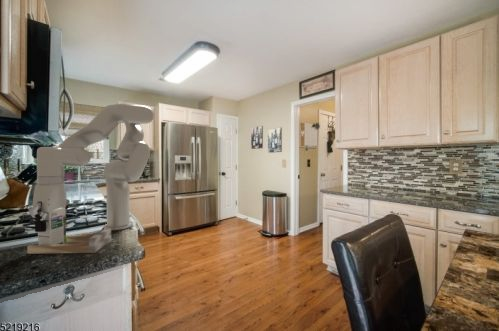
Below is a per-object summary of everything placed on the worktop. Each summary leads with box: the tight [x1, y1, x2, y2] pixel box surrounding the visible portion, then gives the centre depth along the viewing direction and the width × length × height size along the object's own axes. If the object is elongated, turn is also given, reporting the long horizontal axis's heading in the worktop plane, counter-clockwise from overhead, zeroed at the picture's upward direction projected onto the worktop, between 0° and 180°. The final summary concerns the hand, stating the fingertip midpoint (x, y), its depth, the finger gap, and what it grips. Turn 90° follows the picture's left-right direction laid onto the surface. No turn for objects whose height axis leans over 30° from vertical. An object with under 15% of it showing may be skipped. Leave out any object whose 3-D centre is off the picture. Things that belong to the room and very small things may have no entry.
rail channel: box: [26, 229, 112, 255], centre depth 84 cm, size 11×22×5 cm, turn 95°
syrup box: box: [37, 207, 67, 245], centre depth 83 cm, size 6×6×14 cm
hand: (51, 227), depth 83 cm, fingers open, 9 cm apart
